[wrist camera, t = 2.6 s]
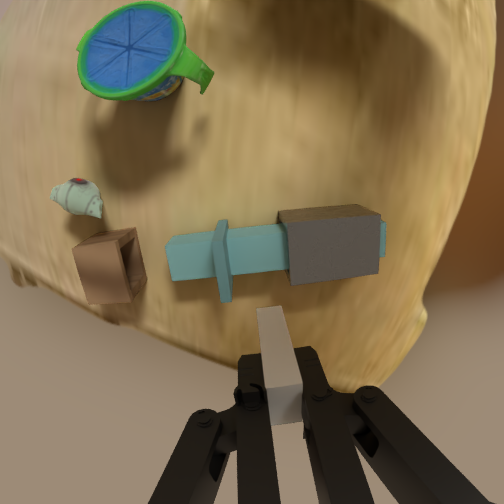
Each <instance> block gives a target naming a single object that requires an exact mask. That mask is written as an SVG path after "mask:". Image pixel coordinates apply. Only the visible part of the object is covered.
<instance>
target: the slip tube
mask: <svg viewBox="0 0 504 504" xmlns="http://www.w3.org/2000/svg"><path fill="white" fill-rule="evenodd" d="M385 246H386V222H384V221H382V220H381V229H380V255H379V257H385ZM165 249H166V254H167V259H168V264H169V268H170V273H171V278H172V281H180V280H190V279H201V278H211V277H217V281H218V287H219V293H220V299H221V303H226V302H232V287H233V275H239V274H248V273H257V272H266V271H275V270H284V269H289V262H288V247H287V232H286V228H285V226H284V225H283V223H281V224H272V225H262V226H253V227H244V228H235V229H228V221H227V220H219V221H218V224H217V227H216V230H215V231H209V232H201V233H193V234H185V235H177V236H173V237H172V238H171V239H170V241H169V242H168V243H167V244H166V245H165Z"/></svg>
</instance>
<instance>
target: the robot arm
mask: <svg viewBox="0 0 504 504" xmlns="http://www.w3.org/2000/svg"><path fill="white" fill-rule="evenodd" d="M256 312H257V321H258V329H259V338H260V347H261V353H258V354H249V355H242V356H241V358H240V359H239V361H238V386H237V387H236V388H235V390H234V398H235V402H236V403H235V405H234V406H233V407H231V408H230V409H227V410H225V411H222V412H219V413H217V412H216V411H214V410H211V409H202V410H198V411H196V412H194V413H193V414H192V415H191V416H190V418H189V420H188V422H187V424H186V426H185V428H184V430H183V432H182V434H181V437H180V439H179V441H178V443H177V445H176V447H175V449H174V451H173V453H172V455H171V457H170V460H169V462H168V464H167V466H166V468H165V470H164V472H163V474H162V476H161V478H160V480H159V482H158V484H157V486H156V488H155V490H154V492H153V494H152V496H151V498H150V501H149V502H148V504H213V503H214V501H215V498H216V495H217V492H218V489H219V486H220V483H221V480H222V477H223V474H224V471H225V467H226V465H227V462H228V458H229V455H230V452H232V451H235V450H237V480H238V482H237V483H238V504H281V501H280V494H279V486H278V479H277V470H276V462H275V454H274V446H273V438H272V431H271V426H272V425H281V424H288V423H295V422H301V421H302V419H303V423H304V432H303V439H306V444H307V449H308V453H309V457H310V462H311V467H312V472H313V476H314V481H315V485H316V491H317V496H318V500H319V504H374V501H373V498H372V494H371V491H370V488H369V485H368V482H367V479H366V477H365V474H364V471H363V468H362V465H361V462H360V459H359V456H358V454H357V451H356V448H355V446H356V447H357V448H358V450H359V451H360V453H361V454H362V456H363V457H364V458H365V459H366V461H367V462H368V464H369V465H370V466H371V468H372V469H373V470H374V472H375V473H376V474H377V475H378V477H379V478H380V480H381V481H382V482H383V483H384V484H385V486H386V487H387V489H388V490H389V491H390V493H391V494H392V495H393V497H394V498H395V499H396V500H397V502H398V503H399V504H495V503H492V502H489V501H488V500H487V499H486V498H485V497H484V496H483V495H482V494H481V493H480V492H479V491H478V490H477V489H476V488H475V486H474V485H473V484H472V483H471V482H470V481H469V480H468V479H467V478H466V477H465V476H464V475H463V474H462V473H461V472H460V471H459V470H458V469H457V468H456V467H455V466H454V465H453V464H452V463H451V462H450V461H449V460H448V459H447V458H446V457H445V456H444V455H443V454H442V453H441V452H440V450H439V449H438V448H437V447H436V446H435V445H434V444H433V443H432V442H431V441H430V440H429V439H428V438H427V437H426V436H425V435H424V434H423V433H422V432H421V431H420V430H419V429H418V428H417V427H416V426H415V425H414V424H413V423H412V422H411V420H410V419H409V418H407V417H406V415H405V414H403V412H402V411H401V410H400V409H399V408H398V407H397V406H396V405H395V404H394V403H393V402H392V401H391V400H390V399H389V398H388V397H387V396H386V395H385V394H384V392H382V391H381V390H380V389H379V388H378V387H375V386H363V387H360V388H359V389H357V390H356V392H355V393H340V392H337V391H335V390H333V388H331V387H330V386H329V384H328V382H327V379H326V376H325V374H324V371H323V368H322V366H321V363H320V360H319V358H318V355H317V352H316V351H315V350H314V349H313V348H312V347H311V346H306V347H300V348H293V345H292V342H291V338H290V335H289V331H288V327H287V324H286V320H285V317H284V313H283V309H282V306H281V305H280V306H272V307H264V308H256Z"/></svg>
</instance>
